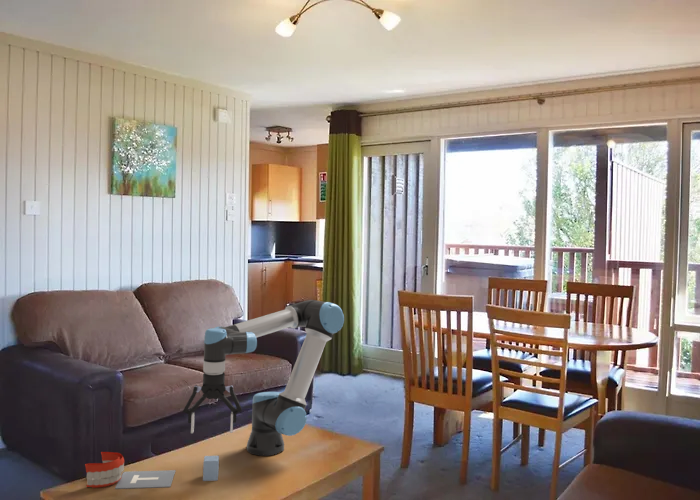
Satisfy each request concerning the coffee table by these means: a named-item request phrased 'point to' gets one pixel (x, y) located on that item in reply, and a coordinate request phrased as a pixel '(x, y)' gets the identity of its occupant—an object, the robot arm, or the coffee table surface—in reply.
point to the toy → (105, 470)
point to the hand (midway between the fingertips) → (212, 431)
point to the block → (210, 468)
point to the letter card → (146, 479)
